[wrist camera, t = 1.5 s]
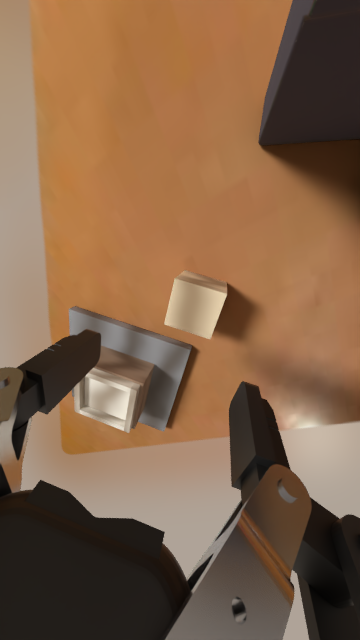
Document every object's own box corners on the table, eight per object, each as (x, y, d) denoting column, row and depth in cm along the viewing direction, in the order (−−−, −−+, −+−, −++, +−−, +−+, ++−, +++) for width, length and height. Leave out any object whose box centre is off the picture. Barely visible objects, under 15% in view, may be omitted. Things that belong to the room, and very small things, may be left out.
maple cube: (226, 282, 21) (227, 294, 17) (213, 320, 23) (210, 339, 19) (185, 269, 22) (174, 278, 17) (175, 308, 24) (164, 324, 19)
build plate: (192, 345, 25) (182, 375, 20) (165, 425, 33) (154, 462, 28) (75, 306, 27) (36, 323, 22) (76, 391, 35) (49, 420, 29)
